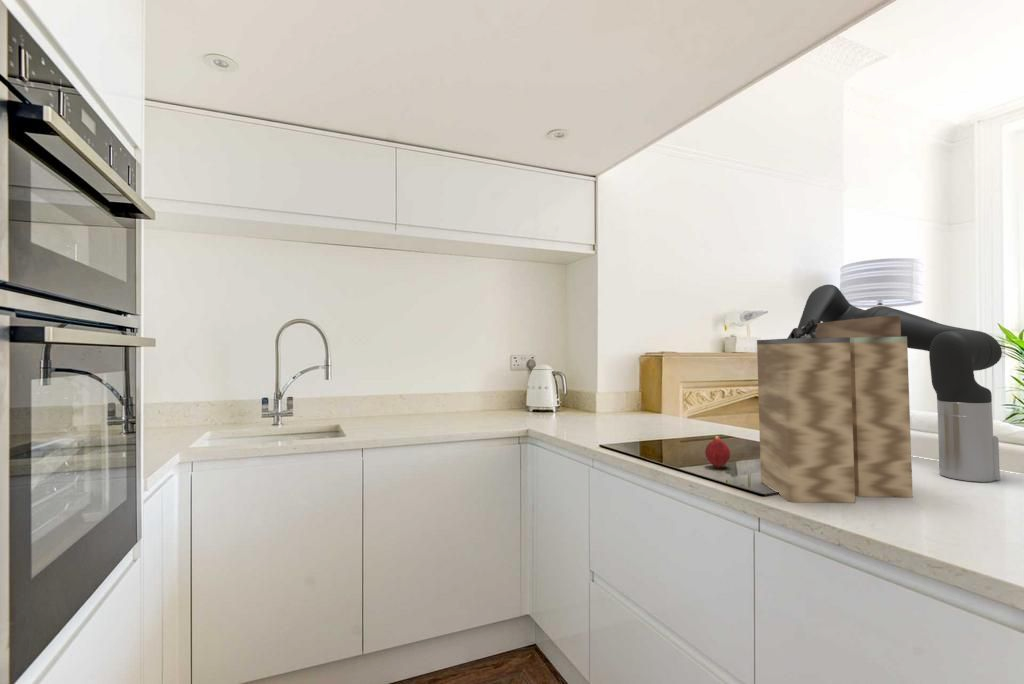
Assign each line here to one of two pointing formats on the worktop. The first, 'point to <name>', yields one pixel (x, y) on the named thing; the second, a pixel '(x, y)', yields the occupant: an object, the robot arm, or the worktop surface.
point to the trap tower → (806, 418)
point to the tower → (881, 417)
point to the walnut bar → (860, 327)
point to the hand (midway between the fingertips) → (834, 321)
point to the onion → (717, 452)
